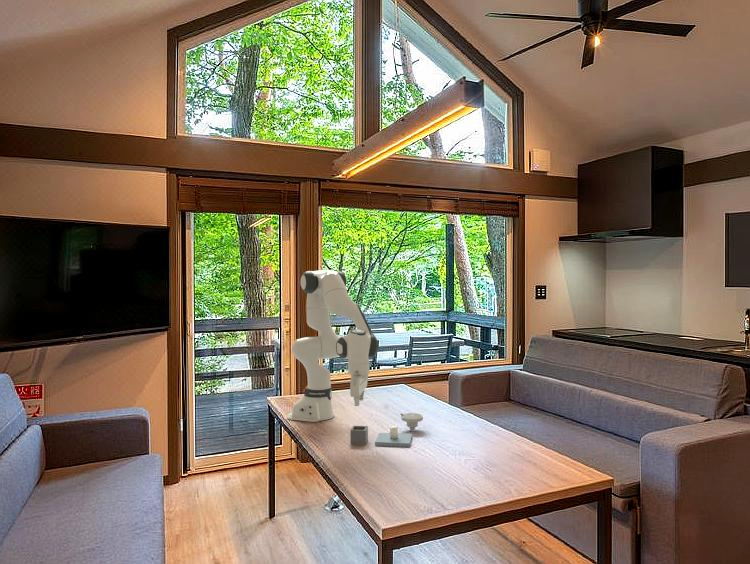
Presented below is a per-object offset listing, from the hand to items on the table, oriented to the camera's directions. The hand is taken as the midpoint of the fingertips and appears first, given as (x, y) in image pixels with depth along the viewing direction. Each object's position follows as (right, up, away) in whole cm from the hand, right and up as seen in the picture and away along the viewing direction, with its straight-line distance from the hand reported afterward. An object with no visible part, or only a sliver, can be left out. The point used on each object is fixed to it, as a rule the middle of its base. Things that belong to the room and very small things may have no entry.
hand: (359, 402), depth 215 cm
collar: (0, -17, +1) cm, 17 cm away
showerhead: (+23, -16, +16) cm, 32 cm away
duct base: (+14, -16, +1) cm, 22 cm away
